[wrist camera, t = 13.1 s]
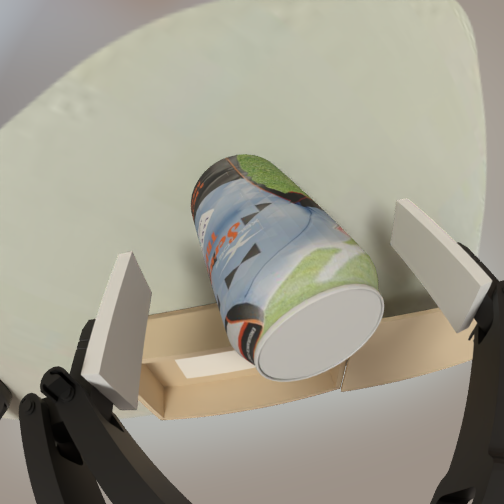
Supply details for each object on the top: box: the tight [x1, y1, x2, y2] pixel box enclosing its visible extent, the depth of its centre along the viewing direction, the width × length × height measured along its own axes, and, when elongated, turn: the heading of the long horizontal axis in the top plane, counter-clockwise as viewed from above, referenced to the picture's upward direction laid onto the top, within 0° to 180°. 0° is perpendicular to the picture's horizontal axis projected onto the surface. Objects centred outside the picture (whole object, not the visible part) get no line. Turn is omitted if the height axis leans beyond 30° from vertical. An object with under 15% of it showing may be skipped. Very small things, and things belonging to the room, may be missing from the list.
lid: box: [341, 308, 477, 392], centre depth 22 cm, size 19×12×1 cm, turn 98°
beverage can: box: [191, 154, 384, 382], centre depth 13 cm, size 6×7×12 cm
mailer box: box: [138, 303, 347, 420], centre depth 25 cm, size 20×12×5 cm, turn 98°
